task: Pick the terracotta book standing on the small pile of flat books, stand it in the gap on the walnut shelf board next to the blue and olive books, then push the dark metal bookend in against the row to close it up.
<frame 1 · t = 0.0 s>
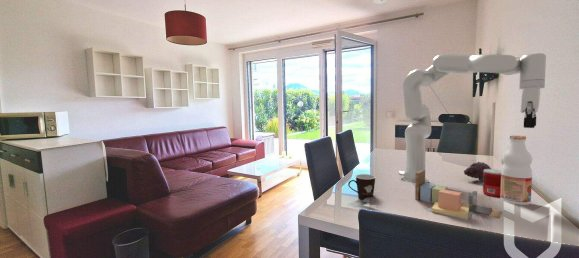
hand: (529, 126, 107), 31 cm above the table, tool pointing down, fingers open, 9 cm apart
pine cone: (479, 180, 139), on the table
shelf: (455, 208, 103), on the table
fruit juice: (514, 204, 106), on the table
canned food: (493, 195, 117), on the table
blue book: (427, 199, 110), point 1 cm above the table, touching shelf
bookend: (472, 208, 99), point 1 cm above the table, touching shelf
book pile: (449, 215, 97), on the table
coffee mug: (362, 198, 118), on the table
olive book: (439, 201, 107), point 1 cm above the table, touching shelf
terracotta book: (449, 207, 97), point 3 cm above the table, touching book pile
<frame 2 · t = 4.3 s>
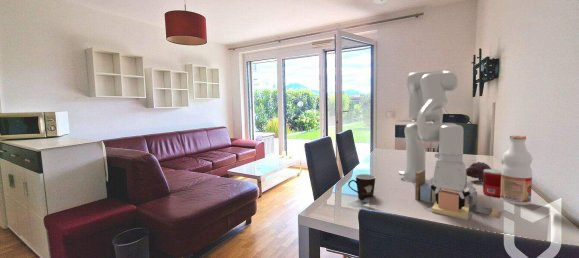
hand: (449, 205, 97), 4 cm above the table, tool pointing down, fingers closed on terracotta book, 6 cm apart
terracotta book: (449, 207, 97), point 3 cm above the table, touching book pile, gripper
everything else where it was.
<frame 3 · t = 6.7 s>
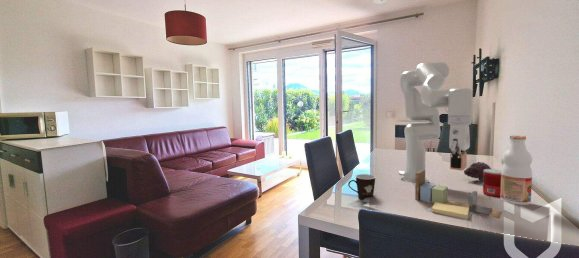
hand: (458, 165, 101), 17 cm above the table, tool pointing down, fingers closed on terracotta book, 6 cm apart
terracotta book: (458, 168, 101), point 17 cm above the table, touching gripper
everything else where it was.
when the fingers open (4 cm above the table, at t = 9.5 s): terracotta book drops 1 cm, resting on shelf.
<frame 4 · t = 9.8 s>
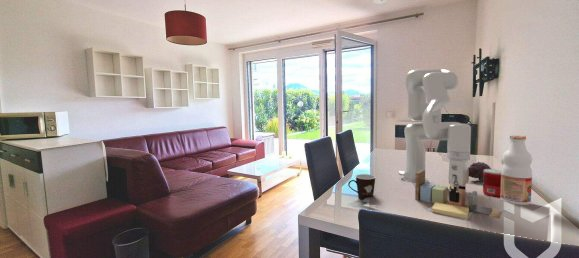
hand: (457, 198, 102), 4 cm above the table, tool pointing down, fingers open, 9 cm apart
terracotta book: (457, 205, 103), point 1 cm above the table, touching shelf
everything else where it was.
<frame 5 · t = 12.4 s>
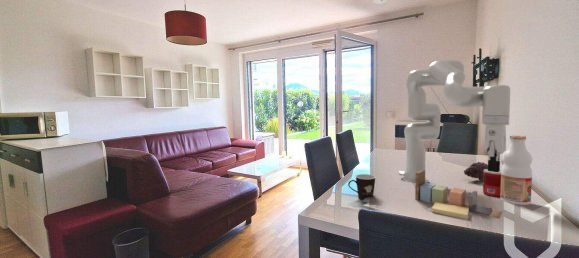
hand: (493, 171, 93), 17 cm above the table, tool pointing down, fingers closed
nothing on the table moved.
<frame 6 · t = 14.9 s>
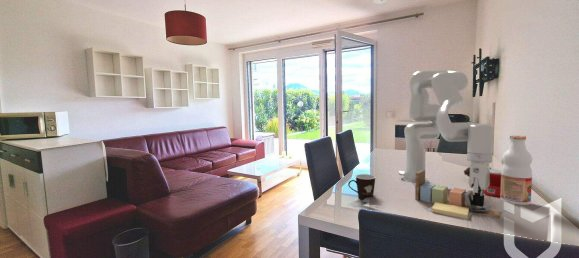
hand: (478, 205, 97), 3 cm above the table, tool pointing down, fingers closed
bookend: (472, 208, 99), point 2 cm above the table, tilted 14°, touching shelf
everything else where it was.
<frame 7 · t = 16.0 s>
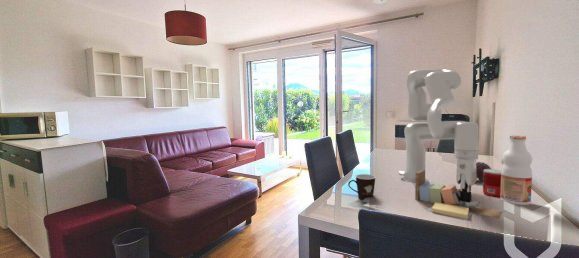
hand: (465, 201, 100), 4 cm above the table, tool pointing down, fingers closed
blue book: (427, 198, 110), point 2 cm above the table, touching olive book, shelf
bookend: (461, 206, 101), point 2 cm above the table, tilted 19°, touching gripper, shelf, terracotta book
olive book: (438, 200, 107), point 2 cm above the table, tilted 6°, touching blue book, terracotta book
terracotta book: (453, 202, 103), point 2 cm above the table, tilted 19°, touching bookend, olive book
everything else where it was.
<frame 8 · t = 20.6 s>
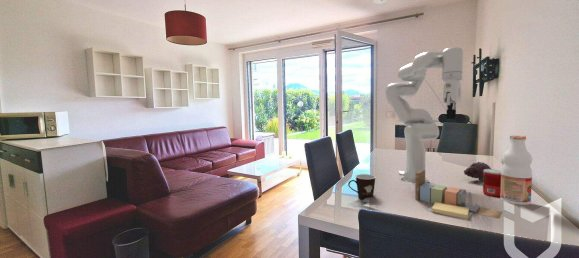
hand: (451, 118, 115), 35 cm above the table, tool pointing down, fingers closed
blue book: (427, 199, 110), point 1 cm above the table, touching shelf
bookend: (461, 206, 101), point 1 cm above the table, touching shelf
olive book: (438, 201, 107), point 1 cm above the table, touching shelf
terracotta book: (452, 204, 103), point 1 cm above the table, touching shelf
everything else where it was.
at the end: terracotta book inside the target area (0.6 cm from its centre), point 1.5 cm above the table; terracotta book tilted 0°; bookend 1.0 cm from the target spot, point 1.5 cm above the table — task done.
